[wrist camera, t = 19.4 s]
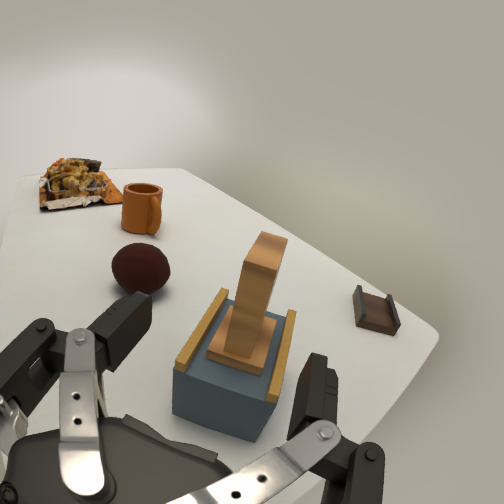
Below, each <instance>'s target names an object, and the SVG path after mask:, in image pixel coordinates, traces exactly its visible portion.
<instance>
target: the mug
mask: <svg viewBox="0 0 504 504" xmlns="http://www.w3.org/2000/svg"><path fill="white" fill-rule="evenodd" d="M162 193H163V189H162V188H161V187H159V186H156V185H153V184H147V183H132V184H128V185H125V187H124V192H123V205H122V222H121V225H122V228H123V229H124V230H126V231H128V232H131V233H136V234H147V233H149V234H155V233H156V232H157V231H158V229H159V227H160V223H161V201H162Z"/></svg>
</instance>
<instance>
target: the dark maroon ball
mask: <svg viewBox="0 0 504 504" xmlns="http://www.w3.org/2000/svg"><path fill="white" fill-rule="evenodd" d="M112 272H113V275H114V277H115V279H116V281H117V282H118V284H119V285H120V286H121V287H122V288H123V289H124V290H126V291H127V292H129V293H132V294H134V293H135V292H137V291H139V292H141V293H144V294H149V293H152V292H155V291H156V290H158V289H159V288H161V287H163V285H164V284H165V283H166V282H167V280H168V279H169V276H170V267H169V263H168V260H167V257H166V256H165V255H164V254H163V253H162V252H161V250H160V249H158V248H157V247H155V246H153V245H149V244H144V243H133V244H129V245H127V246H125V247H123V248H122V249H120V250H119V251H118V252H117V254H116V255H115V256H114V258H113V260H112Z"/></svg>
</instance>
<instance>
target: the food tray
mask: <svg viewBox="0 0 504 504" xmlns="http://www.w3.org/2000/svg"><path fill="white" fill-rule="evenodd" d="M84 161H85V162H84ZM100 165H101V162H100V161H96V160H89V159H78V158H67V159H66V160H65V159H64V158H60V159H59V160H58V161H56V162H55V163H53V164H52V166H51V167H49V168H47V173H46V174H45V175H44V176H43V177H40V209H46V208H47V207H48V209H56V208H66V207H70V206H78V205H81V204H83V207H84V208H85V206H86V205H88V204H89V203H90V202H97V201H99V200H100V198H101V199H102V201H104V202H105V203H107V204H109V203H120V202H123V195H122V194H121V193H120V191H119V190H118V189H117V188H116V187H115V185H114V184H113V183H112V182H111V179H109V178H108V176H106V174H105V173H104V172H103V171H99V170H100ZM41 180H42V181H41Z"/></svg>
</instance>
